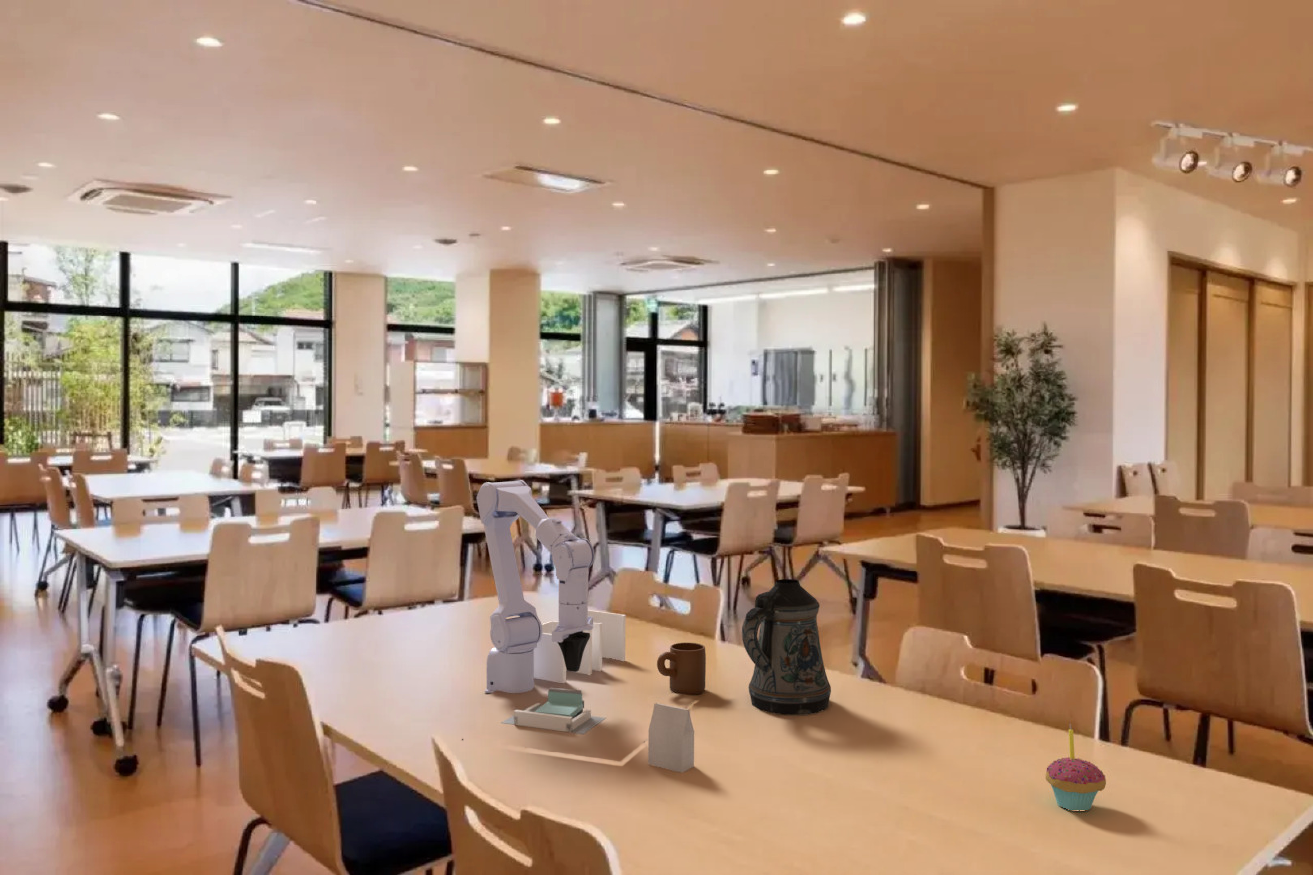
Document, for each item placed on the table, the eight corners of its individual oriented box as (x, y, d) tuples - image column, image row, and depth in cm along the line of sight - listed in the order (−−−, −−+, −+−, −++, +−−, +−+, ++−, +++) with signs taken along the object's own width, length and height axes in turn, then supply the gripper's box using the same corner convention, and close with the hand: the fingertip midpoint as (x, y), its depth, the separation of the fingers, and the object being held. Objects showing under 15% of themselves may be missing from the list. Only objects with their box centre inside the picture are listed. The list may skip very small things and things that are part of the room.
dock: (501, 726, 191) (501, 709, 191) (526, 711, 201) (526, 695, 200) (583, 737, 185) (583, 720, 185) (605, 721, 194) (606, 704, 194)
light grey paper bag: (682, 773, 168) (682, 713, 168) (648, 764, 172) (648, 706, 172) (693, 766, 171) (694, 707, 171) (660, 758, 175) (660, 700, 175)
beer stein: (839, 697, 211) (841, 577, 210) (813, 725, 193) (814, 593, 192) (763, 687, 218) (764, 571, 217) (731, 713, 200) (732, 586, 199)
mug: (669, 702, 207) (670, 656, 207) (645, 693, 213) (646, 649, 212) (712, 691, 215) (713, 647, 214) (688, 683, 220) (689, 640, 220)
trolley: (534, 723, 191) (534, 697, 191) (550, 710, 199) (550, 686, 199) (569, 726, 189) (569, 701, 189) (584, 713, 197) (584, 689, 197)
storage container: (586, 655, 245) (586, 609, 244) (625, 661, 239) (625, 615, 239) (522, 680, 223) (522, 630, 223) (563, 687, 218) (563, 636, 217)
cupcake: (1035, 796, 159) (1036, 720, 159) (1087, 794, 160) (1089, 718, 160) (1061, 818, 151) (1063, 738, 150) (1116, 817, 152) (1118, 737, 151)
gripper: (575, 610, 191) (575, 682, 192) (607, 596, 205) (606, 663, 205) (542, 607, 194) (541, 678, 195) (575, 593, 207) (575, 660, 208)
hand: (572, 670), depth 200 cm, fingers closed
